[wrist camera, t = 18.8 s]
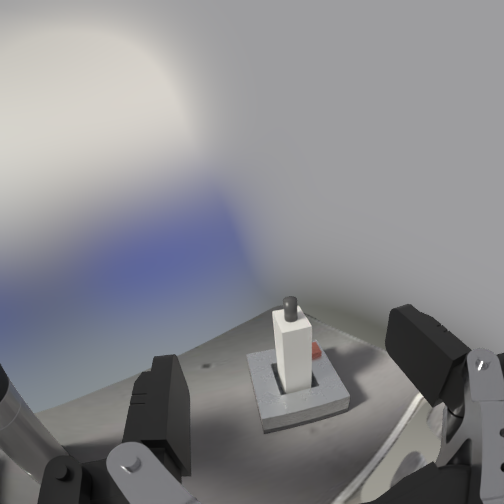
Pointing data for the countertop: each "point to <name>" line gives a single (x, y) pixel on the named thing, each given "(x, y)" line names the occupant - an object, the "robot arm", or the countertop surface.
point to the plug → (293, 347)
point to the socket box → (298, 403)
